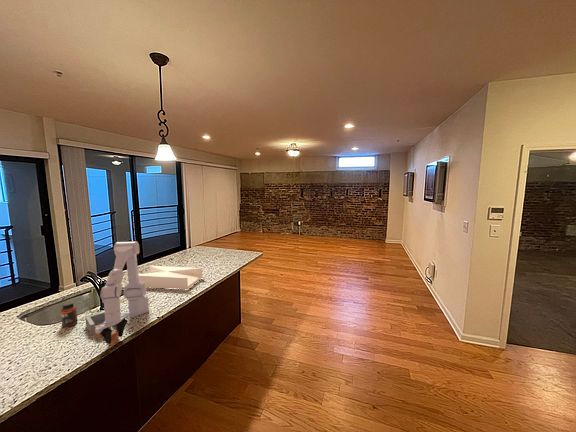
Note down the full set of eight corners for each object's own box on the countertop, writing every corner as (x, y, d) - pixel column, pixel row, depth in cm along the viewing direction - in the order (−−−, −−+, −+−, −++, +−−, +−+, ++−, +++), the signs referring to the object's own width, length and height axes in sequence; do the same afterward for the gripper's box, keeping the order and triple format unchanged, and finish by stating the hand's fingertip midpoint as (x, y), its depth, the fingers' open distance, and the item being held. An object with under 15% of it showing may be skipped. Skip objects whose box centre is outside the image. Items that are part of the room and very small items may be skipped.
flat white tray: (202, 279, 192) (202, 268, 192) (187, 291, 171) (187, 278, 170) (149, 277, 198) (149, 265, 197) (128, 287, 176) (128, 274, 175)
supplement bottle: (76, 320, 130) (74, 299, 129) (78, 324, 127) (77, 303, 126) (61, 324, 126) (59, 303, 125) (63, 328, 122) (61, 307, 121)
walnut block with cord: (107, 330, 121) (106, 320, 121) (121, 341, 112) (120, 330, 112) (95, 335, 117) (94, 325, 117) (108, 346, 108) (108, 336, 108)
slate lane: (113, 317, 133) (112, 308, 133) (119, 325, 126) (118, 316, 125) (86, 326, 125) (85, 316, 124) (91, 335, 117) (90, 325, 116)
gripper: (120, 302, 118) (122, 329, 119) (88, 317, 104) (91, 347, 105) (132, 304, 116) (133, 332, 117) (101, 320, 102) (103, 350, 103)
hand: (114, 339), depth 111 cm, fingers open, 5 cm apart
